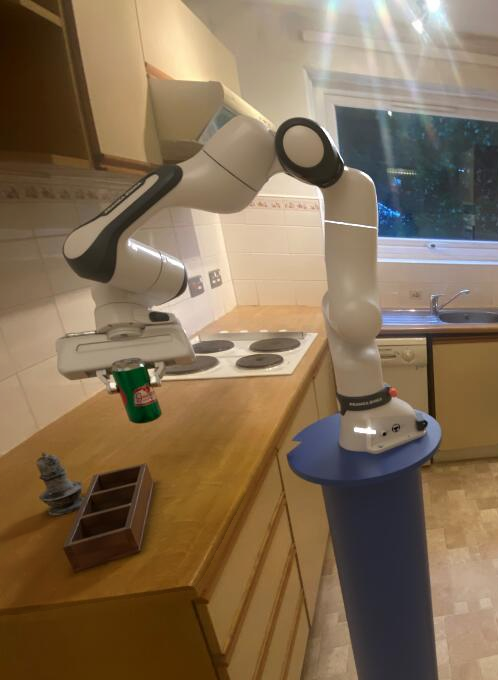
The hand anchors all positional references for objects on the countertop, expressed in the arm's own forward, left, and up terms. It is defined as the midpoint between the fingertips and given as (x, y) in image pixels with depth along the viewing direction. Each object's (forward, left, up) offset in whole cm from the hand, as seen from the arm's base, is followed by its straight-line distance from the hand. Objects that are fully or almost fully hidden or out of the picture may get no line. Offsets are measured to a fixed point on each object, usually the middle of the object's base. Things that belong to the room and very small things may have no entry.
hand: (135, 389), depth 82 cm
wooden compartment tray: (+7, +10, -21) cm, 24 cm away
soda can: (0, -1, -7) cm, 7 cm away
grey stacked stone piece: (+16, -1, -21) cm, 27 cm away
